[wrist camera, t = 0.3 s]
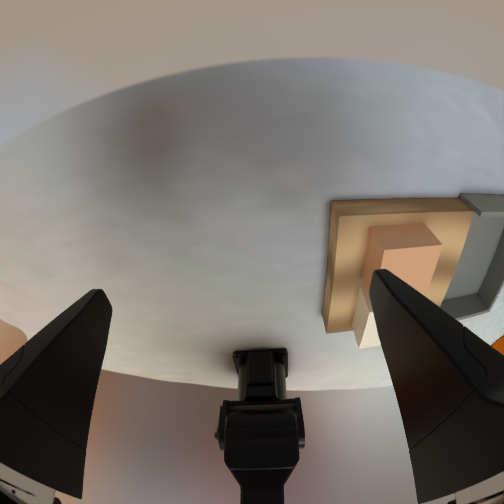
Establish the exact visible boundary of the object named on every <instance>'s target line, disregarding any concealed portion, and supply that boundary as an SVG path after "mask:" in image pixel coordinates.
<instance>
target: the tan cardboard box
mask: <svg viewBox="0 0 504 504" xmlns="http://www.w3.org/2000/svg"><path fill="white" fill-rule="evenodd" d="M442 246H443V245H442V243H441V242H440V241H439V240H438V238H437V237H436V236H435V235H434V234H433V233H432V231H431V230H430V229H429V228H428V227H427V226H426V224H407V225H389V226H372V227H370V229H369V236H368V243H367V250H366V256H365V262H364V268H363V273H362V280H363V283H364V285H365V288H366V290H367V292H368V295H369V288H370V283H371V278H372V274H373V271H374V270H376V269H387V270H389V271H390V272H392V273H393V274H394V275H396V276H397V277H399V278H400V279H402V280H403V281H404V282H406V283H407V284H409V285H410V286H412V287H413V288H414V289H416V290H417V291H419V292H420V293H421V294H423V295H424V296H425V295H426V293H427V290H428V287H429V285H430V282H431V279H432V276H433V274H434V271H435V268H436V265H437V262H438V259H439V255H440V252H441V249H442ZM369 297H370V296H369Z"/></svg>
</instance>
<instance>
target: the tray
mask: <svg viewBox="0 0 504 504" xmlns="http://www.w3.org/2000/svg"><path fill="white" fill-rule="evenodd" d="M459 199H460V200H462V201H463V202H464V203H465V204H466V205H467V206H469V207H470V208H471V209H472V210H473V211H474V213H473V217H472V220H471V224H470V227H469V231H468V234H467V237H466V240H465V244H464V247H463V250H462V253H461V255H460V258H459V261H458V264H457V267H456V269H455V272H454V274H453V277H452V280H451V282H450V285H449V287H448V289H447V292H446V294H445V296H444V299H443V301H442V303H441V305H440V308H442V309H443V310H444V311H446V312H447V313H448V314H450V315H451V316H452V317H453V318H455V319H456V320H457V321H458V320H462V319H466V318H469V317H473V316H476V315H480V314H483V313H487V312H490V310H491V308H492V306H493V304H494V303H495V301H496V299H497V297H498V295H499V293H500V291H501V289H502V287H503V285H504V195H490V194H461V193H460V197H459Z"/></svg>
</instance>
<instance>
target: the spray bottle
mask: <svg viewBox="0 0 504 504" xmlns="http://www.w3.org/2000/svg"><path fill="white" fill-rule="evenodd" d="M492 347H493V348H494V349H496V350H497V351H499V352H500V353H502V354H503V355H504V336H503V337H501V338H500V339H498V340H497V341H496V342H495V343H494V344H493V345H492Z"/></svg>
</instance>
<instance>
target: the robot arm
mask: <svg viewBox="0 0 504 504" xmlns="http://www.w3.org/2000/svg"><path fill="white" fill-rule="evenodd" d="M369 296H370V301H371V305H372V309H373V314H374V318H375V323H376V328H377V332H378V337H379V340H380V343H381V346H382V349H383V353H384V356H385V359H386V362H387V366H388V369H389V372H390V376H391V379H392V383H393V386H394V390H395V393H396V397H397V401H398V405H399V408H400V413H401V416H402V420H403V425H404V429H405V434H406V438H407V443H408V447H409V453H410V458H411V464H412V468H413V475H414V481H415V486H416V494H417V501H418V504H421V503H425V502H428V501H432V500H435V499H438V498H441V497H444V496H447V495H450V494H453V493H455V498H456V499H454V500H452V501H450V502H448V504H504V355H503V354H502V353H500V352H499V351H497V350H496V349H494V348H493V347H492V346H490V345H489V344H487V343H486V342H485V341H483V340H482V339H481V338H479V337H478V336H477V335H475V334H474V333H473V332H472V331H470V330H469V329H468V328H466V327H465V326H464V327H463V324H461V323H460V322H459V321H457V320H456V319H455V318H453V317H452V316H451V315H450V314H448V313H447V312H446V311H444V310H443V309H442V308H440V307H439V306H438V305H436V304H435V303H434V302H432V301H431V300H430V299H428V298H427V297H425V296H424V295H423V294H421V293H420V292H419V291H417V290H416V289H414V288H413V287H412V286H410V285H409V284H407V283H406V282H404V281H403V280H402V279H400V278H399V277H397V276H396V275H394V274H393V273H392V272H390V271H389V270H387V269H376V270H374V271H373V274H372V278H371V283H370V288H369ZM111 317H112V306H111V304H110V302H109V300H108V298H107V296H106V294H105V292H104V291H103V290H102V289H92V290H90V291H89V292H88V293H86V294H85V295H84V296H83V297H81V298H80V299H79V300H77V301H76V302H75V303H74V304H72V305H71V306H70V307H69V308H67V309H66V310H65V311H64V312H62V313H61V314H60V315H59V316H57V317H56V318H55V319H54V320H52V321H51V322H50V323H49V324H48V325H46V326H45V327H44V328H43V329H42V330H40V331H39V332H38V333H37V334H36V335H35V336H33V337H32V338H31V339H30V340H29V341H28V342H26V343H25V345H23V346H22V347H21V348H19V349H18V351H16V352H15V353H14V354H13V355H11V356H10V357H9V358H8V359H7V360H5V361H4V362H3V363H2V364H1V365H0V504H62V503H61V502H60V500H59V499H58V498H57V497H55V491H56V490H57V491H60V492H62V493H65V494H67V495H70V496H73V497H76V498H78V499H82V490H83V478H84V467H85V466H84V465H85V457H86V448H87V440H88V434H89V427H90V421H91V415H92V410H93V404H94V399H95V394H96V389H97V385H98V380H99V376H100V371H101V367H102V363H103V359H104V355H105V351H106V345H107V340H108V334H109V328H110V322H111ZM233 360H234V363H235V367H236V370H237V374H238V377H239V378H238V401H228V400H223V405H222V406H220V415H219V421H218V424H217V427H216V431H215V438H216V439H217V440H218V442H219V446H220V449H221V450H222V451H224V461H225V463H226V465H227V467H228V468H229V470H230V471H231V473H232V474H233V476H234V477H235V479H236V480H237V482H238V483H239V485H240V487H241V502H240V503H241V504H284V484H285V483H286V481H287V480H288V478H289V476H290V475H291V473H292V471H293V469H294V468H295V466H296V465H297V463H298V461H299V449H300V448H304V446H305V431H304V421H303V414H302V408H301V401H300V397H297V398H295V399H287V392H286V379H285V378H286V377H287V376H288V351H287V350H286V349H276V350H261V351H241V352H234V353H233Z"/></svg>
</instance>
